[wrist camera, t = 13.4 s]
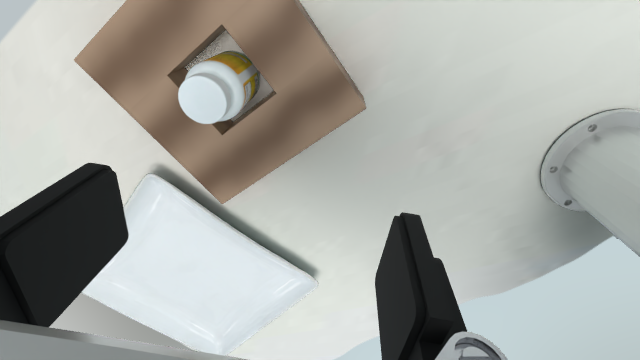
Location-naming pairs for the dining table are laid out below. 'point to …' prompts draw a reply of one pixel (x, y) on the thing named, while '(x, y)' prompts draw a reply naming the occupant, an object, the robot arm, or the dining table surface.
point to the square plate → (194, 273)
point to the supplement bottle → (218, 87)
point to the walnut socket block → (264, 52)
